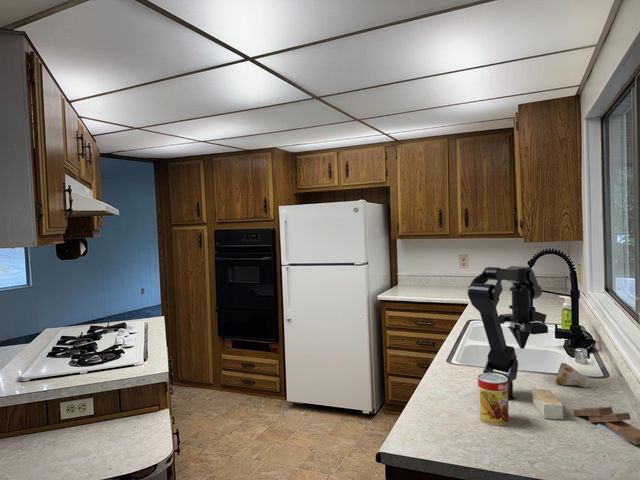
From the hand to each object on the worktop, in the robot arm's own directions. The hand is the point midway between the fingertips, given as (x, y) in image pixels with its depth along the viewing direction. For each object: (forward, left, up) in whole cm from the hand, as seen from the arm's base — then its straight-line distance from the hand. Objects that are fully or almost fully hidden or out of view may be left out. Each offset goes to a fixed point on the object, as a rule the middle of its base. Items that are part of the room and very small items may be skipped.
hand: (522, 348), depth 148 cm
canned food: (-26, -20, -12) cm, 35 cm away
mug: (+14, -6, -13) cm, 20 cm away
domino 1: (-1, -25, -11) cm, 28 cm away
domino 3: (-1, -33, -12) cm, 35 cm away
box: (-6, -15, -10) cm, 19 cm away
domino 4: (-1, -35, -11) cm, 37 cm away
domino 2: (-1, -30, -11) cm, 32 cm away
